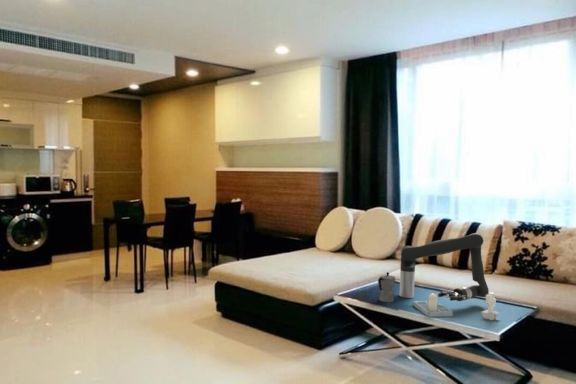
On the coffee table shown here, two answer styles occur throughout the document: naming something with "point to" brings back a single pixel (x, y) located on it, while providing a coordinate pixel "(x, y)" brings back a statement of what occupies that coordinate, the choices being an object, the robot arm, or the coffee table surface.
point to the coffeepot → (386, 288)
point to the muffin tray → (440, 312)
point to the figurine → (490, 307)
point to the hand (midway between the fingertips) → (444, 297)
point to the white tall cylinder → (432, 303)
